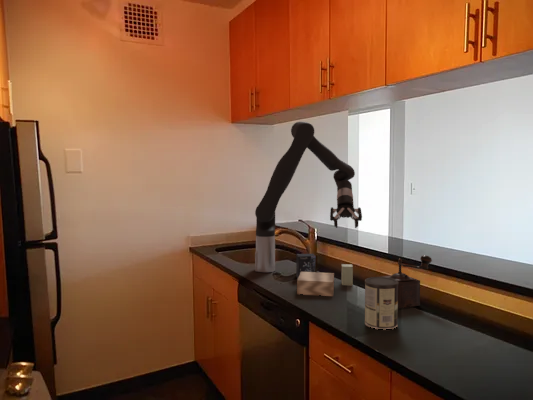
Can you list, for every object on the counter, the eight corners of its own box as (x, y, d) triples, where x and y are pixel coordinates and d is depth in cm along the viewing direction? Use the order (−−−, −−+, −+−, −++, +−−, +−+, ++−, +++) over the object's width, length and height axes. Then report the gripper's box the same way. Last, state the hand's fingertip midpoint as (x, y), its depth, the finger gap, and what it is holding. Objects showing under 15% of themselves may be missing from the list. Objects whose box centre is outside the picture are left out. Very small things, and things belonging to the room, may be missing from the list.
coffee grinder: (398, 310, 146) (399, 259, 145) (378, 300, 156) (379, 253, 155) (433, 304, 152) (434, 256, 150) (412, 296, 162) (413, 250, 160)
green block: (341, 285, 177) (342, 266, 177) (341, 282, 182) (341, 264, 181) (352, 285, 177) (352, 266, 176) (351, 282, 181) (352, 264, 181)
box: (298, 279, 186) (298, 256, 185) (296, 276, 192) (296, 253, 191) (315, 279, 187) (315, 255, 187) (312, 275, 193) (312, 253, 192)
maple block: (297, 295, 165) (297, 280, 164) (300, 285, 178) (300, 271, 178) (333, 297, 162) (333, 281, 162) (333, 287, 176) (334, 273, 175)
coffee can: (379, 316, 140) (380, 275, 139) (404, 326, 131) (405, 282, 130) (357, 322, 134) (357, 279, 133) (381, 333, 126) (382, 287, 125)
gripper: (329, 194, 196) (330, 221, 185) (360, 194, 194) (363, 221, 183) (329, 204, 201) (330, 231, 191) (359, 204, 199) (362, 232, 189)
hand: (346, 226), depth 187 cm, fingers open, 8 cm apart
